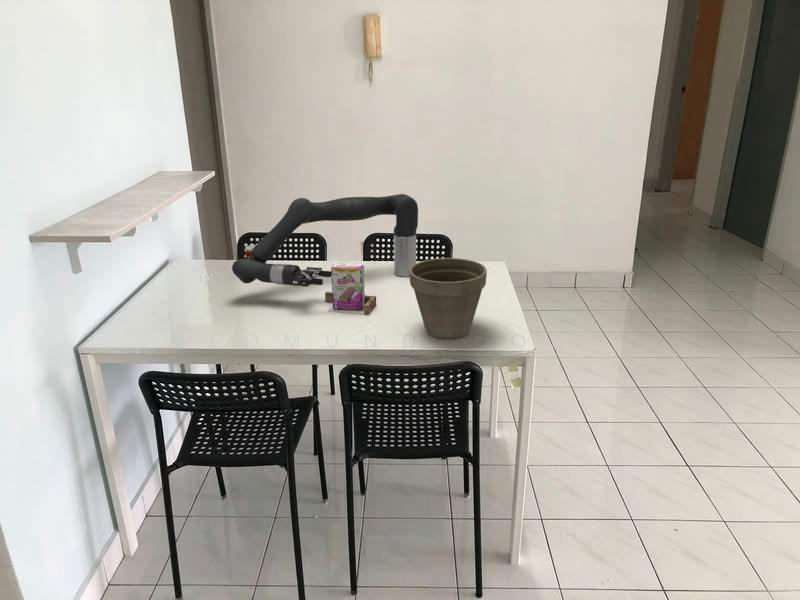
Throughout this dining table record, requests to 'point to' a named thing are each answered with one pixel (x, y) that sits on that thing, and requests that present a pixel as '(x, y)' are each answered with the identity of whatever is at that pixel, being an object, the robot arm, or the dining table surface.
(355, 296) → the candy bar box
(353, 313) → the pad
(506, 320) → the dining table surface
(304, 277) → the robot arm
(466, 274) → the plant pot
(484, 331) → the dining table surface
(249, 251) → the canned food
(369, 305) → the brown l-shaped piece
